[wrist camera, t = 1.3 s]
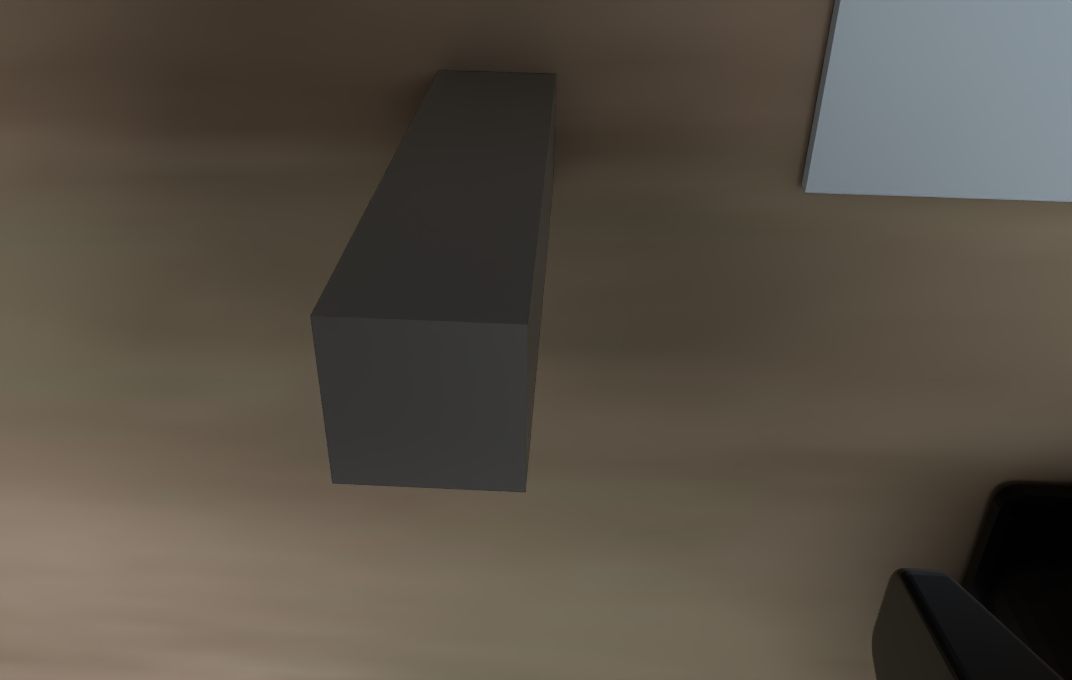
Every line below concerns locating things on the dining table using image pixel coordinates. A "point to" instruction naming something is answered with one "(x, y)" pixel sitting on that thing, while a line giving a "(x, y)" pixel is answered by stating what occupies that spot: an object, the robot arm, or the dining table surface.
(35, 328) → the dining table surface
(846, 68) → the pad
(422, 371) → the dark gray rectangular block
